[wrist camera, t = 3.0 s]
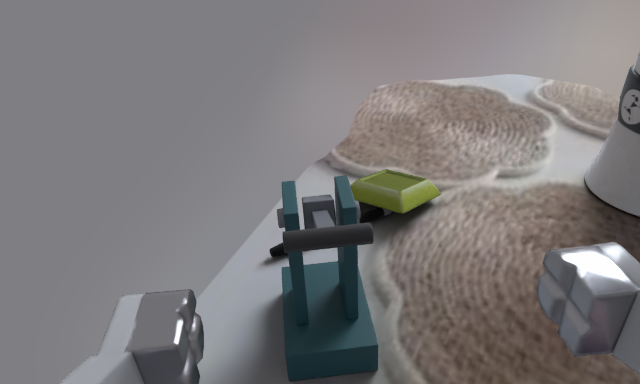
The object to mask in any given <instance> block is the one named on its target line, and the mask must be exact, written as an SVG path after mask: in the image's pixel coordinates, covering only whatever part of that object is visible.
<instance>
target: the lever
mask: <svg viewBox="0 0 640 384" xmlns="http://www.w3.org/2000/svg"><path fill="white" fill-rule="evenodd" d="M302 205H303V215H304V225H305V229H304V230H294V231H285V232H283V245H284V252H285V253H290V252H299V251H309V250H318V249H327V248H337V247H346V246H355V245H364V244H372V243H373V229H372V225H371V223H361V224H351V225H342V226H336V218H335V207H334V200H333V198H332V197H331V195H321V196H311V197H303V198H302Z"/></svg>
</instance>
